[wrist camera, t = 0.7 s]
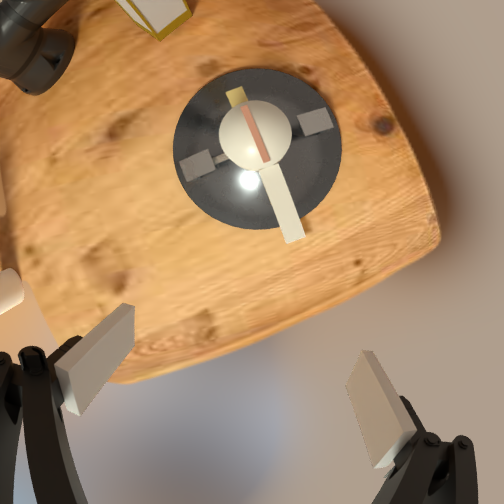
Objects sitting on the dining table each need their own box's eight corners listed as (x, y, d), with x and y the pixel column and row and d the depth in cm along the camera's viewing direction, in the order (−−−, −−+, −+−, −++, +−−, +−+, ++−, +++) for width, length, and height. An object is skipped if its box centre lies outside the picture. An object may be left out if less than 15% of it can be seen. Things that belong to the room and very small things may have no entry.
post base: (154, 109, 36) (145, 103, 32) (301, 53, 33) (304, 43, 29) (210, 252, 41) (205, 258, 37) (361, 196, 38) (370, 197, 34)
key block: (208, 101, 34) (195, 83, 27) (260, 82, 33) (260, 59, 26) (263, 241, 39) (263, 254, 31) (317, 221, 38) (330, 230, 30)
